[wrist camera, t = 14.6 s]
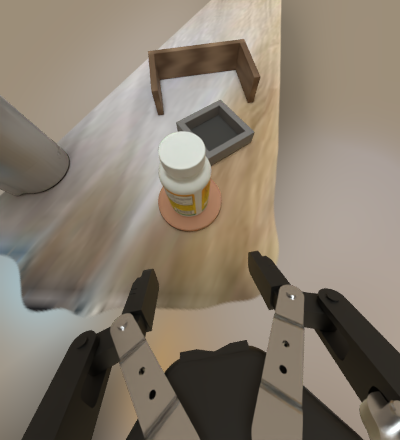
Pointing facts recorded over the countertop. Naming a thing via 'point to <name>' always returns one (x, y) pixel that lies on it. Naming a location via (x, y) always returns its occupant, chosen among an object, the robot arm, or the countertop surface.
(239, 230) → the countertop surface
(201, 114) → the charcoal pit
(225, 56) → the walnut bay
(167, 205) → the tan round disc
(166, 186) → the supplement bottle
